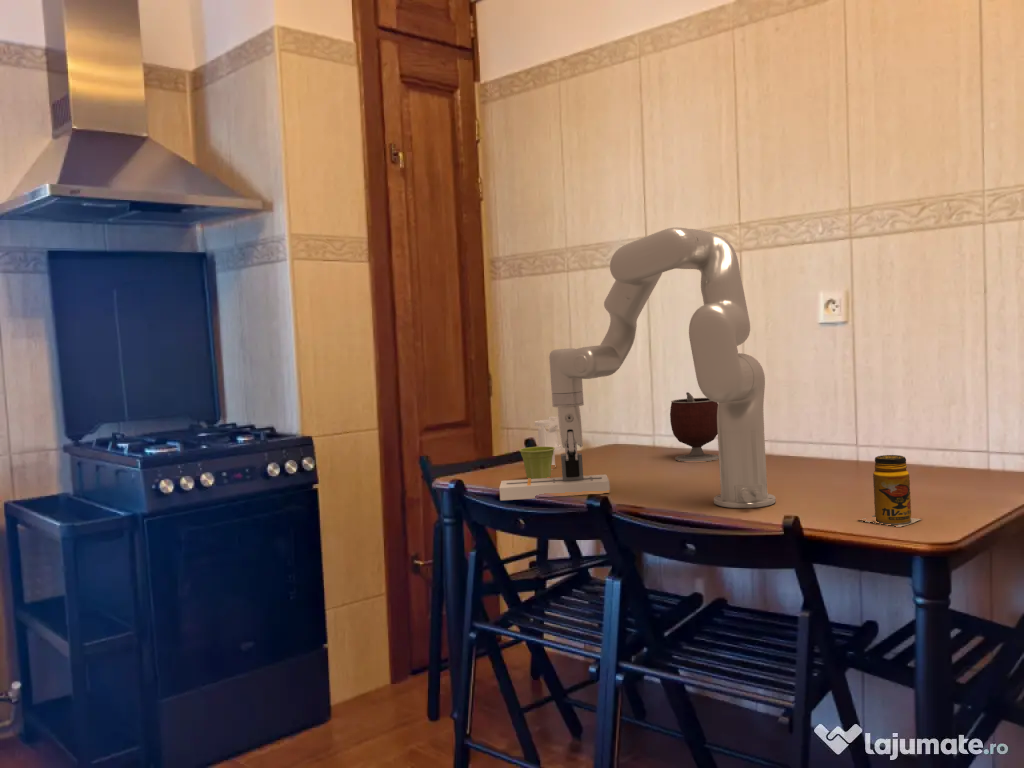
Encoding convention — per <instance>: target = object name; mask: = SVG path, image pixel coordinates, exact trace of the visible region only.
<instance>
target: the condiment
mask: <svg viewBox="0 0 1024 768" xmlns="http://www.w3.org/2000/svg"><path fill="white" fill-rule="evenodd" d="M907 468H908V465H907V459H906V457H905V456H903V455H898V454H886V455H884V454H883V455H878V456H875V458H874V471H873V474H872V475H873V476H872V477H873V478H872V480H873V497H874V498H873V499H874V500H873V501H874V502H873V503H874V514H873V515H871V516H872V517H876V521H877V522H879V523H883V524H891V525H898V526H896V527H897V528H899V527H900V528H901V527H903V526H908V525H911V524H913V523H916V522H918V521H921V520H922V518H915V517H914V518H912V505H911V503H912V499H911V488H910V485H911V482H910V481H911V480H910V479H911V478H910V473H909V471H908V469H907ZM866 518H867V517H866ZM866 518H865V517H864V518H862V520H863V519H866ZM870 522H871V521H867V520H866V521H865V523H870ZM873 524H875V523H874V522H873Z"/></svg>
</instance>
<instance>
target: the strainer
mask: <svg viewBox="0 0 1024 768" xmlns="http://www.w3.org/2000/svg"><path fill="white" fill-rule="evenodd" d="M547 418H548V419H541V420H534V426H535V427H538V428H537V435H538V438H537V439H538V445H536V446H535V447H554V448H555V449H554V451H553V455H552V465H555V466H556V460H555V459H556V457H555V456H556V455H555V451H560V450H562V444H559V435H558V431H557V430H559V419H558V416H549V417H547ZM546 427H548V431H547V429H546Z"/></svg>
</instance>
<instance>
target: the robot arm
mask: <svg viewBox="0 0 1024 768" xmlns="http://www.w3.org/2000/svg"><path fill="white" fill-rule="evenodd" d="M737 255H738V254H737V252H736V250H735V249H734V247H733V245H732V244H731V243H730V241H728V239H726V238H724V237H723V236H721V235H719V234H717V233H713V232H709V231H705V230H699V229H694V228H686V227H685V228H684V227H678V226H677V227H669V228H665V229H662V230H659V231H657V232H654V233H652V234H650V235H647V236H643V237H642V238H639V239H636V240H633V241H632V242H628V243H626V244H624V245H622V246H621V247H619V248H617V250H616V251H615V252H614V253H613V254H612V256H611V259H610V262H609V270H610V274H611V276H612V278H613V279H614V280H615V281H614V283H613V284H612V286H611V287H610V290H609V292H608V294H607V295H606V297H605V299H604V302H603V306H604V309H605V310H606V312H607V313H608V314H609V317H610V319H609V321H610V322H609V326H608V330H607V331H606V333H605V336H603V339H602V341H601V343H600V345H591V346H583V347H578V348H572V347H571V348H560V349H559V348H558V349H553V350H551V351H550V352H549V355H548V356H549V357H548V358H549V375H550V384H551V385H550V386H551V389H550V390H551V402H552V408H557V415H558V416H557V417H558V419H559V429H558V430H559V436H560V441H561V447H562V448H564V449H565V450H564V451H565V453H564V454H566V461H565V466H566V477H579V476H580V474H579V460H578V458H577V453H578V447H577V446H579V448H582V447H583V444H584V443H583V429H582V417H581V409H580V407H581V406H584V405H585V404H584V388H583V380H591V379H597V378H604V377H609V376H612V375H613V374H615V373H616V372H617V371H618V370H619V369H621V366H622V365H623V363H624V362H625V360H626V359H627V356H628V354H629V353H630V351H631V349H632V347H633V345H634V341H635V338H636V333H637V326H638V325H637V322H638V319H639V316H640V314H641V313H642V311H643V309H644V307H645V305H646V303H647V301H649V299H650V296H651V295H652V293H653V292H654V289H655V288H656V285H657V284H658V282H659V280H660V278H661V276H662V275H663V273H665V272H668V271H671V270H675V269H678V270H679V269H681V270H697V271H699V272H700V290H701V291H700V292H701V296H702V301H703V305H702V306H700V307H699V308H697V309H696V310H695V311H694V313H692V316H691V318H690V321H689V325H688V338H689V342H690V350H691V354H692V355H691V356H692V359H693V365H694V372H695V377H696V381H697V384H698V388H699V389H700V391H701V393H702V394H703V395H704V397H705V398H708V399H709V400H711V401H714V402H717V403H718V410H717V429H718V430H717V432H718V434H717V447H718V456H719V459H718V462H719V463H718V464H719V483H720V494H717V495H715V496H714V497H713V503H714V505H716V506H719V507H723V508H731V509H733V508H734V509H754V508H763V507H769V506H771V505H774V504H775V503H776V496H775V495H774V494H771V493H768V479H767V477H768V476H767V463H766V462H767V460H766V459H767V458H766V457H767V456H766V441H765V420H764V405H765V403H764V401H765V400H764V399H765V388H766V377H765V375H766V374H765V371H764V369H763V366H762V364H761V363H760V362H759V361H758V360H757V359H756V358H755V357H754V356H752V355H749V354H746V353H739V350H738V346H740V345H742V344H743V343H745V342H746V341H747V339H748V338H749V336H750V332H751V321H750V317H749V316H750V315H749V312H748V306H747V300H746V296H745V292H744V291H745V290H744V286H743V281H742V276H741V270H740V265H739V259H738V256H737Z"/></svg>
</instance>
